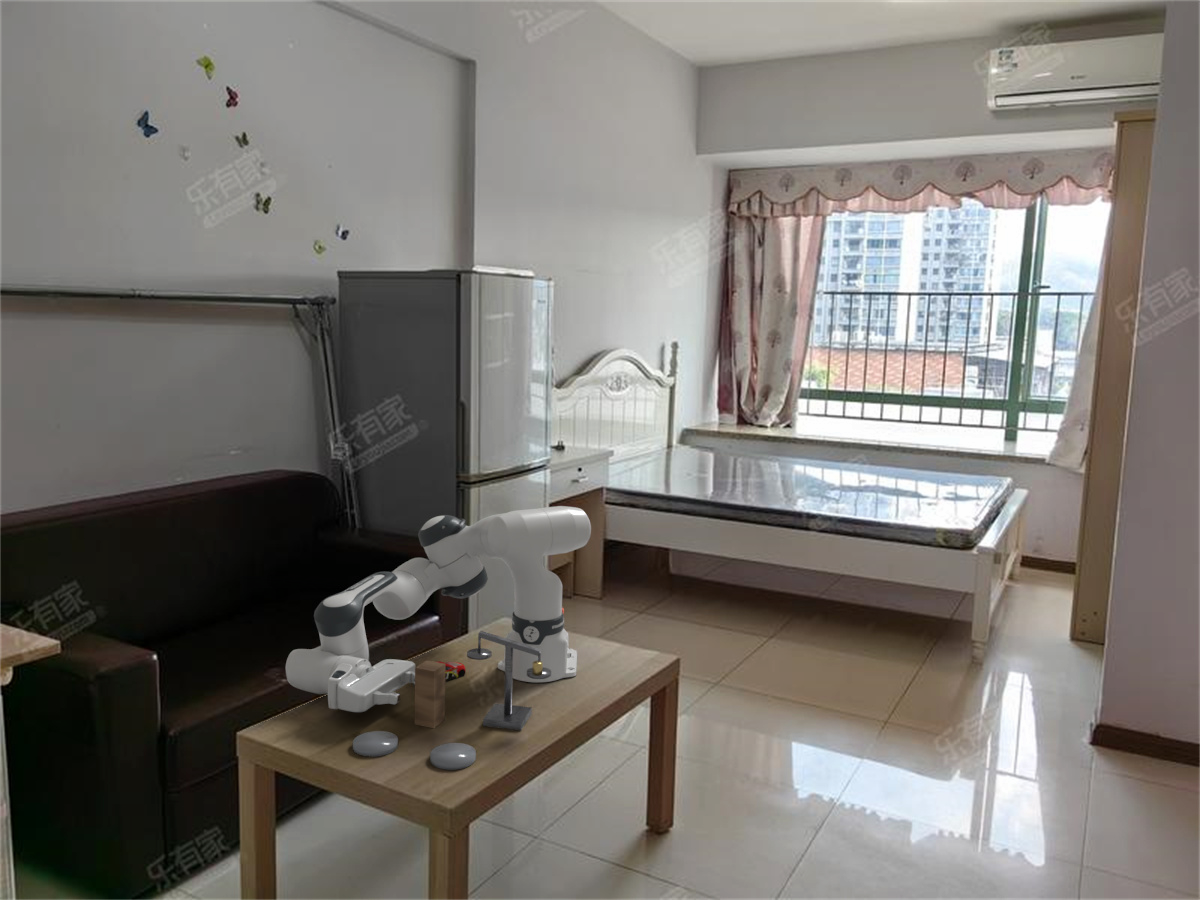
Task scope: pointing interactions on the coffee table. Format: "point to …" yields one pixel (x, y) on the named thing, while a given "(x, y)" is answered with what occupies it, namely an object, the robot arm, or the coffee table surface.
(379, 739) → the grey oval dome
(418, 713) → the pillar
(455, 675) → the race car
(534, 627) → the robot arm
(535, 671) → the balance
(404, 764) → the coffee table surface
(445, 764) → the grey flat pebble
